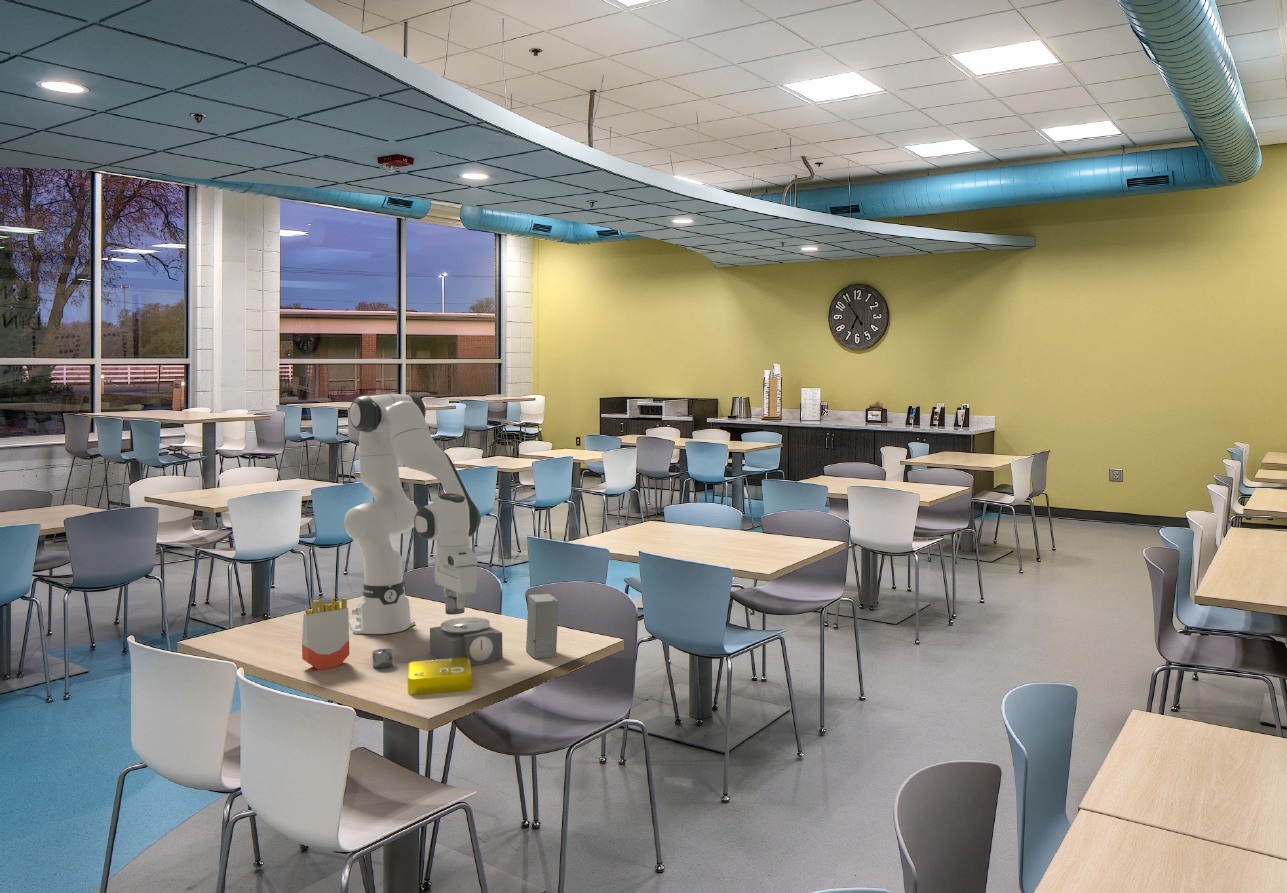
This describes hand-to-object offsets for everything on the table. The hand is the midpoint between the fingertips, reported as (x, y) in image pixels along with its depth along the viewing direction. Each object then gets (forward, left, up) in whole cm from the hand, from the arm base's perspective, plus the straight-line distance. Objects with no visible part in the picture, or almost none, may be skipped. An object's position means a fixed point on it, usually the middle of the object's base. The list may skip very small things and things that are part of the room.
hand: (454, 606), depth 239 cm
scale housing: (+1, +3, -14) cm, 14 cm away
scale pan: (0, +3, -6) cm, 7 cm away
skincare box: (+11, +20, -14) cm, 27 cm away
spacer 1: (-4, -19, -14) cm, 24 cm away
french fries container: (-13, -31, -14) cm, 36 cm away
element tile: (+18, -12, -15) cm, 26 cm away
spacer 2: (0, 0, -2) cm, 2 cm away
